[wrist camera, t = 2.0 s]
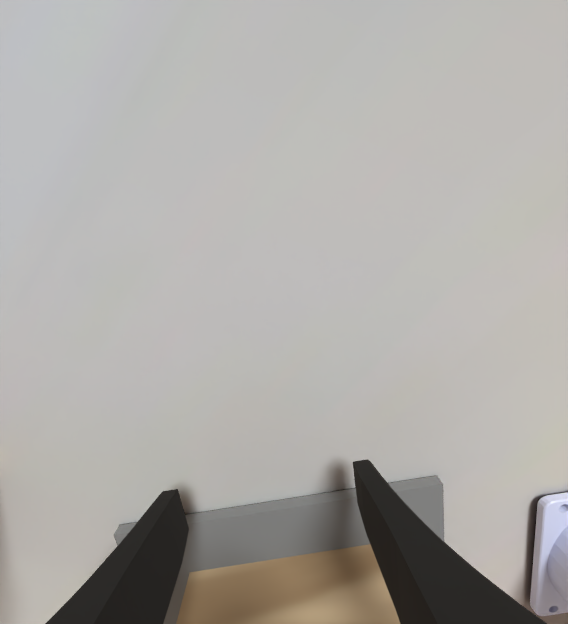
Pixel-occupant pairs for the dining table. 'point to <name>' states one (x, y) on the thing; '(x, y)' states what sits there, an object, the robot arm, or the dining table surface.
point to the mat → (288, 529)
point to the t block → (292, 591)
